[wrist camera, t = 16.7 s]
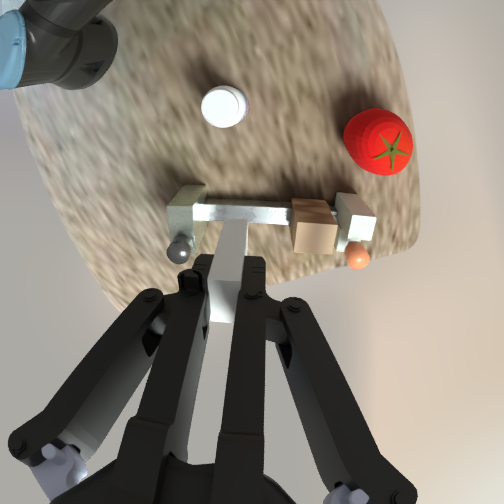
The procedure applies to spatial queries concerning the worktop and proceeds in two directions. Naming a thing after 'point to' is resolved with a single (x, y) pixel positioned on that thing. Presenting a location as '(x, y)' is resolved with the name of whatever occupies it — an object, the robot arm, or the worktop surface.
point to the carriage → (312, 226)
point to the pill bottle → (224, 106)
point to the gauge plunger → (356, 255)
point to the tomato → (378, 141)
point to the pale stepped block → (352, 220)
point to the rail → (215, 217)
